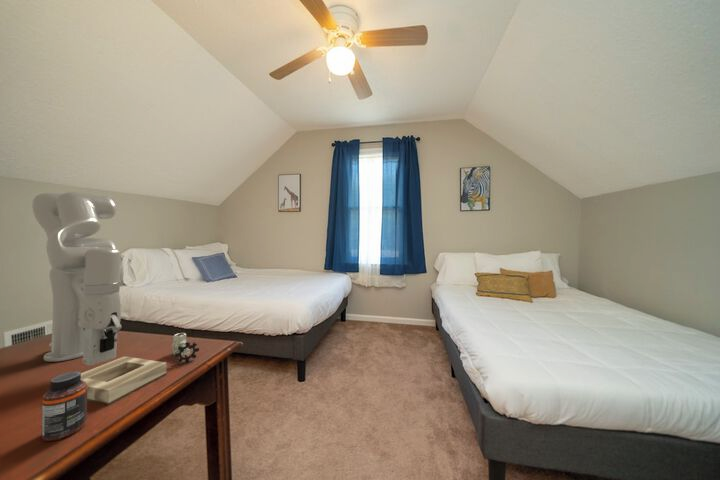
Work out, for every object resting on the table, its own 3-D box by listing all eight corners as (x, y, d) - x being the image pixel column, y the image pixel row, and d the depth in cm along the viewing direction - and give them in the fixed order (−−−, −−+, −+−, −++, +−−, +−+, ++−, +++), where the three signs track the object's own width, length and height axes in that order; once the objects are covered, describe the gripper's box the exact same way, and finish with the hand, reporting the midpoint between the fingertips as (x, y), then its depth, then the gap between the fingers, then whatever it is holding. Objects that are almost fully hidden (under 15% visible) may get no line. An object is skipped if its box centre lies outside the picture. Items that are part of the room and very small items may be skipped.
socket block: (60, 395, 62) (60, 381, 62) (124, 367, 75) (124, 356, 75) (108, 405, 58) (108, 390, 58) (166, 374, 72) (166, 362, 72)
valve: (166, 354, 85) (174, 366, 77) (166, 335, 85) (175, 345, 77) (188, 348, 90) (199, 359, 82) (189, 330, 90) (199, 339, 82)
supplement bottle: (65, 421, 53) (67, 368, 53) (95, 420, 54) (96, 368, 54) (30, 443, 47) (32, 384, 47) (64, 442, 48) (66, 383, 48)
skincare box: (89, 366, 70) (91, 324, 70) (81, 363, 72) (83, 322, 72) (117, 357, 76) (119, 318, 76) (109, 354, 78) (110, 316, 78)
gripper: (64, 289, 72) (62, 351, 72) (108, 293, 68) (106, 359, 68) (96, 285, 79) (94, 341, 79) (137, 289, 76) (135, 347, 76)
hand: (100, 348), depth 74 cm, fingers closed on skincare box, 4 cm apart
